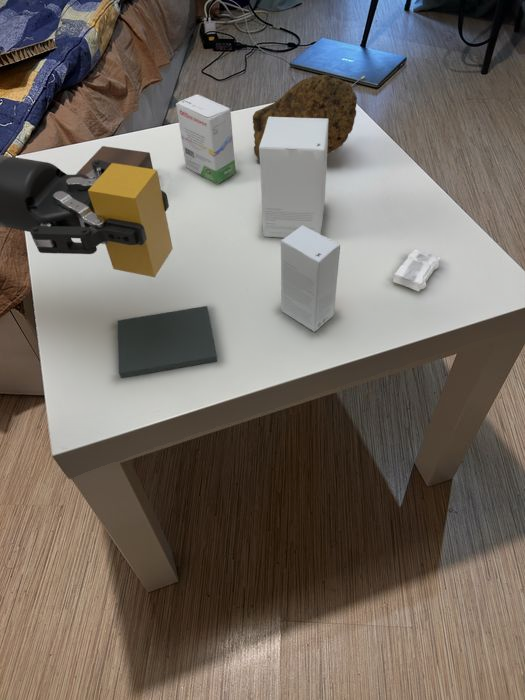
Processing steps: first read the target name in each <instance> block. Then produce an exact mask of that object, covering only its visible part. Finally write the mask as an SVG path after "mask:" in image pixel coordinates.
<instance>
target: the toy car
mask: <svg viewBox="0 0 525 700" xmlns="http://www.w3.org/2000/svg"><path fill="white" fill-rule="evenodd" d="M440 260H441V256H440V257H439V256H437V255H434V254H431V253H428V252H426V251H423V250H420V249H417V248H415V249H414V250H413V251H411V252H410V253H409V254H408V255H407V258H406V259H405V260H404V262H403V263H402V264H401V265H400V266H399V267H398V269H397V271H395V272H394V273H393V278H392V282H394V283H395V284H398V285H401V286H403V287H406V288H409V289H411V290H414V291H416V292H420V291H421V290H424V289H425V288H426V287H427V282H428V280H429V278H430V277H431V275H432V273H433V272H434V271H435V270H437V269H438V268H439V266H440Z"/></svg>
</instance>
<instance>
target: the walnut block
mask: <svg viewBox="0 0 525 700" xmlns="http://www.w3.org/2000/svg"><path fill="white" fill-rule="evenodd" d="M94 160H102V161H105V162H108V163H111V164H112V163H116V164H122V165H129V166H135V167H142V168H148V169H154V166H153V162H152V161H153V160H152V157H151V152H148V151H141V150H133V149H127V148H121V147H120V148H119V147H114V146H113V147H112V146H106V145H101V147H99V149H98V150H97V151H96V152H95V153H94V154H93V155H92V157H91V158H90V159H89V160H88V161H87V162H86V163H85V164H84V165H83V166H82V167H81V168H80V169H79V170H78V171H77V172H76V174H84V175H86V174H88V173H89V172H90V171H92V170H93V167H92V162H93V161H94Z"/></svg>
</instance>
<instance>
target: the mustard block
mask: <svg viewBox="0 0 525 700" xmlns="http://www.w3.org/2000/svg"><path fill="white" fill-rule="evenodd" d="M161 188H162V187H161V182H160V178H159V173H158V170H157V169H154V168H153V169H148V168H142V167H135V166H129V165H122V164H116V163H112V164H111V165H110V166H109V167H108V168H107V169H106V170H105V172H104V173H103V174H102V175H101V176H100V177H99V178H98V179H97V181H96V182H95V183H94V184H93V185H92V186H91V187H90V189H89V190H88V192H89V196H90V199H91V202H92V205H93V208H94V211H95V214H96V215H99V216H101V217H103V218H104V219H105V221H107V220H108V219H109V218H112V219H117V220H123V221H128V222H134V223H139V224H141V225H143V226H144V229H145V233H146V237H147V240H146V241H145V243H144V244H143V245H127V244H122V243H116V242H111V241H110V242H109V243H107V244H104V245H105V248H106V251H107V254H108V257H109V260H110V263H111V267H112V269H113V270H116V271H120V272H126V273H131V274H136V275H141V276H145V277H151V278H155V277H156V276H157V274H158V273H159V272H160V270H161V268H162V266H163V265H164V264H165V262H166V260H167V259H168V257H169V255H170V254H171V253H172V251H173V250H174V247H173V242H172V237H171V233H170V229H169V223H168V218H167V213H166V212H167V211H166V212H165V207H164V202H163V197H162V192H161V190H162V189H161Z"/></svg>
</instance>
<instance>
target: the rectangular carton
mask: <svg viewBox="0 0 525 700" xmlns="http://www.w3.org/2000/svg"><path fill="white" fill-rule="evenodd" d="M327 147H328V119H323V118H292V117H268V120H267V124H266V127H265V131H264V134H263V137H262V140H261V143H260V146H259V155H260V159H259V169H260V172H259V173H260V191H261V210H262V211H261V213H262V229H263V230H262V232H263V233H262V234H263V237H265V238H266V237H267V238H281V239H284V238H285V237H287V236H288V235H290V234H291V233H292V232H294V231H295V230H297V229H298V228H299V227H301V226H302V225H303V226H305V227H307V228H309V229H311V230H313V231H315V232H317V233H319V234H321V235H322V227H323V221H324V220H323V219H324V212H325V200H326V199H325V198H326V184H327V183H326V181H327V163H328V155H327Z"/></svg>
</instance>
